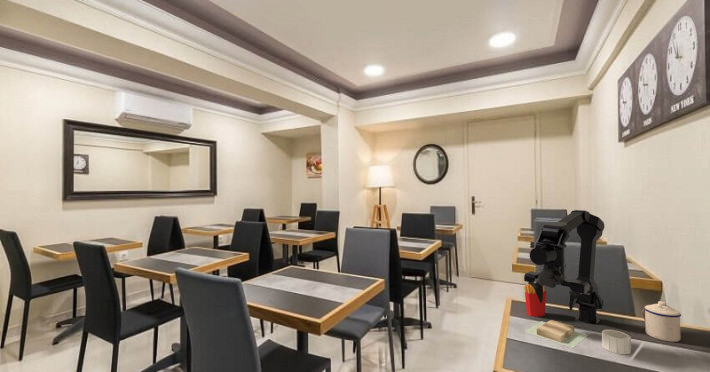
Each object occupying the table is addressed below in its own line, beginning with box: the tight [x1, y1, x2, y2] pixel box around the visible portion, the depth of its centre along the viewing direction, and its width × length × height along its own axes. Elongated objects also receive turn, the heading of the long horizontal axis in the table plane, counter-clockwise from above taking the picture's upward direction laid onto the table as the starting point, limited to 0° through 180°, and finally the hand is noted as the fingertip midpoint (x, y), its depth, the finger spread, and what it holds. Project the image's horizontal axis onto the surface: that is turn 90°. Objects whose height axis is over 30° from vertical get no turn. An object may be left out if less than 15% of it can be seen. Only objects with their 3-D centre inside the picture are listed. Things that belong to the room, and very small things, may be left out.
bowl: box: [601, 329, 632, 355], centre depth 100 cm, size 7×7×5 cm
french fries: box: [523, 284, 547, 318], centre depth 128 cm, size 9×4×13 cm, turn 106°
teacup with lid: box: [641, 300, 682, 343], centre depth 111 cm, size 12×9×12 cm
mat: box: [523, 320, 589, 349], centre depth 111 cm, size 14×15×1 cm
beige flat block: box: [537, 319, 575, 342], centre depth 111 cm, size 12×7×2 cm, turn 128°
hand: (555, 306), depth 111 cm, fingers open, 9 cm apart
